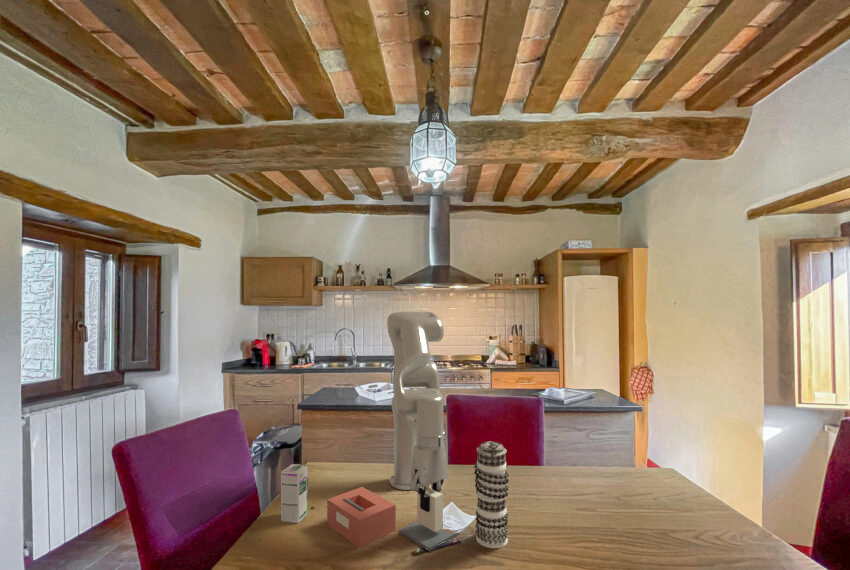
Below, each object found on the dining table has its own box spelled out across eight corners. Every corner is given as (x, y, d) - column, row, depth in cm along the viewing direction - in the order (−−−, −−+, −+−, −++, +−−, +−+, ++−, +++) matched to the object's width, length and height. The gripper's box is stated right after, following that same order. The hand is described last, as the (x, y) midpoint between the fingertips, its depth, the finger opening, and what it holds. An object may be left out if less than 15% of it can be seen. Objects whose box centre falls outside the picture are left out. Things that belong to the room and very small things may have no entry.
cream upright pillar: (424, 518, 119) (425, 485, 119) (442, 527, 114) (442, 494, 114) (417, 522, 117) (417, 489, 117) (435, 532, 112) (435, 497, 112)
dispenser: (361, 510, 128) (362, 485, 128) (395, 530, 116) (395, 503, 117) (326, 524, 119) (326, 498, 120) (359, 548, 108) (359, 519, 108)
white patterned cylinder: (473, 529, 117) (472, 438, 118) (506, 530, 117) (505, 439, 118) (475, 548, 108) (475, 450, 109) (512, 549, 107) (511, 450, 109)
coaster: (430, 517, 123) (430, 514, 123) (460, 533, 115) (460, 530, 115) (399, 532, 115) (399, 529, 115) (429, 551, 106) (429, 548, 107)
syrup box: (298, 523, 120) (299, 472, 120) (279, 521, 121) (280, 470, 122) (308, 513, 125) (308, 464, 126) (290, 511, 127) (290, 463, 127)
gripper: (440, 430, 124) (440, 493, 124) (398, 443, 113) (398, 513, 112) (459, 436, 119) (459, 502, 118) (417, 450, 108) (417, 523, 107)
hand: (429, 507), depth 115 cm, fingers closed on cream upright pillar, 3 cm apart
